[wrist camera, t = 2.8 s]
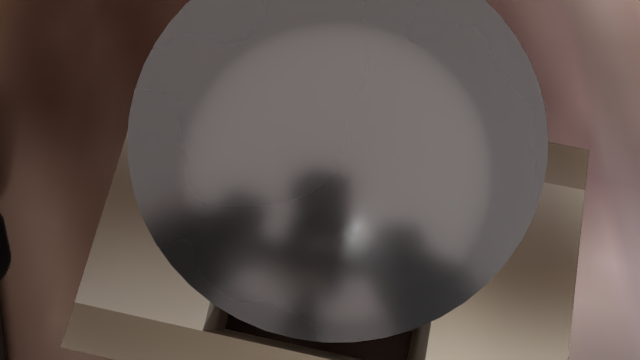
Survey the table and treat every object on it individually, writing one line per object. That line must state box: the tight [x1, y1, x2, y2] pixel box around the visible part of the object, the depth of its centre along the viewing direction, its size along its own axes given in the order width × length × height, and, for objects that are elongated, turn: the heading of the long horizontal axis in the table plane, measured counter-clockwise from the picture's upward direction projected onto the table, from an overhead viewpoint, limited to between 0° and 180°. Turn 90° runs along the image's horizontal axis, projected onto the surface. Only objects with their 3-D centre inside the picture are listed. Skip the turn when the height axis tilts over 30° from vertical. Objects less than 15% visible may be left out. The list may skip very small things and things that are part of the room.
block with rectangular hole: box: [61, 131, 589, 360], centre depth 15 cm, size 8×12×3 cm, turn 78°
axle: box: [127, 0, 548, 342], centre depth 11 cm, size 4×4×12 cm
